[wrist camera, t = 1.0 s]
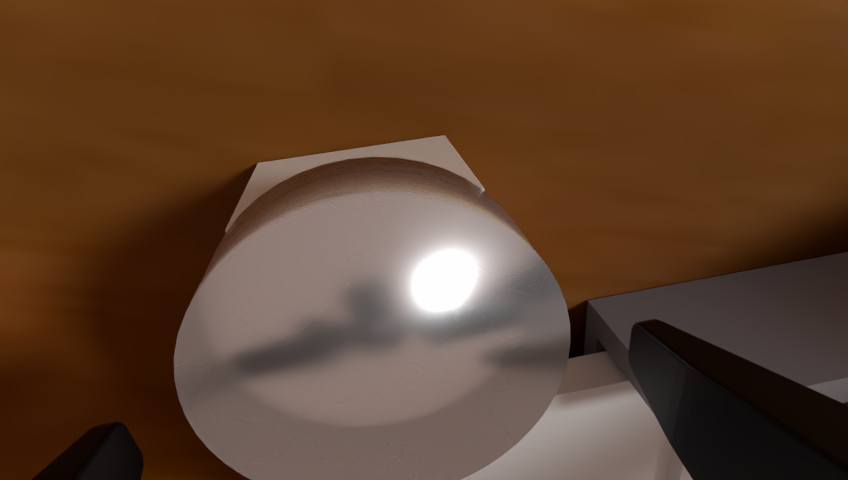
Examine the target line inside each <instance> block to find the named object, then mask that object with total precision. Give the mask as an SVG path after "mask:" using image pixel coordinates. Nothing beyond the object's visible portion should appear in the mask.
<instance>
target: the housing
mask: <svg viewBox="0 0 848 480" xmlns="http://www.w3.org/2000/svg"><path fill="white" fill-rule="evenodd" d="M650 319H658V320H661V321H663V322H665V323H667V324H669V325H672V326H674V327H676V328H678V329H681V330H683V331H685V332H687V333H689V334H692V335H694V336H696V337H698V338H700V339H703V340H705V341H707V342H709V343H711V344H714V345H716V346H718V347H720V348H722V349H725V350H727V351H729V352H731V353H733V354H736V355H738V356H740V357H742V358H744V359H747V360H749V361H751V362H753V363H755V364H758V365H760V366H762V367H764V368H766V369H769V370H771V371H773V372H775V373H777V374H780V375H782V376H784V377H786V378H788V379H791V380H793V381H795V382H797V383H799V384H802V385H804V386H806V387H808V388H810V389H813V390H815V391H817V392H819V393H821V394H824V395H826V396H828V397H830V398H833V399H835V400H837V401H839V402H841V403H844V404H846V405H848V252H844V253H839V254H834V255H828V256H823V257H818V258H812V259H807V260H801V261H796V262H791V263H785V264H780V265H775V266H769V267H764V268H759V269H753V270H748V271H742V272H737V273H732V274H726V275H721V276H716V277H710V278H705V279H700V280H694V281H689V282H683V283H678V284H673V285H667V286H662V287H657V288H651V289H646V290H641V291H635V292H630V293H625V294H619V295H614V296H608V297H603V298H598V299H592V300H588V304H587V317H586V330H585V344H584V355H589V354H594V353H599V352H605V351H607V352H608V353H609V355H610V356H611V357H612V359H613V360H614V361H615V363H616V364H617V365H618V367H619V368H620V369H621V371H622V372H623V373H624V375H625V376H626V377H627V379H628V380H629V381H630V383H631V384H632V385H633V387H634V388H635V389H636V391H637V392H638V393H639V395H640V396H641V397H642V399H643V400H644V401H645V403H646V404H647V405H648V407H649V408H650V409H651V407H650V405H649V403H648V401H647V399H646V398H645V396H644V394H643V392H642V390H641V388H640V386H639V384H638V382H637V380H636V378H635V376H634V374H633V373H632V371H631V368H630V366H629V362H628V352H629V344H630V337H631V330H632V326H633V325H634V324H635V323H636V322H640V321H645V320H650ZM651 411H652V409H651ZM652 412H653V411H652Z"/></svg>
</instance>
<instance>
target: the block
mask: <svg viewBox="0 0 848 480" xmlns="http://www.w3.org/2000/svg"><path fill="white" fill-rule="evenodd" d="M365 157H393V158H403V159H409V160H415V161H421V162H425V163H428V164H431V165H434V166H438V167H441V168H444V169H446V170H449V171H451V172H453V173H455V174H457V175H459V176H462V177H464V178H466V179H467V180H469V181H470V182H472V183H473V184H475V185H476V186H478V187H480V188H481V189H482V190H484V187H483V186H482V185H481V183H480V182H479V181H478V179H477V178H476V177H475V175H474V174H473V173H472V171H471V170H470V169H469V167H468V166H467V165H466V163H465V162H464V161H463V159H462V158H461V157H460V155H459V154H458V152H457V151H456V150H455V148H454V147H453V146H452V144H451V143H450V142H449V140H448V139H447V138H446V136H445V135H442V136H436V137H429V138H422V139H416V140H409V141H402V142H395V143H389V144H382V145H375V146H369V147H362V148H355V149H349V150H342V151H335V152H329V153H322V154H315V155H309V156H302V157H295V158H288V159H282V160H275V161H268V162H262V163H258V164H257V166H256V168H255V170H254V172H253V174H252V176H251V178H250V180H249V182H248V184H247V186H246V188H245V190H244V192H243V194H242V196H241V198H240V201H239V203H238V205H237V207H236V209H235V211H234V213H233V215H232V217H231V219H230V221H229V223H228V225H227V227H226V229H225V232H227V230H228V229H229V228H230V226H231V225H232V224H233V223H234V221H235V220H236V219H237V218H238V216H239V215H240V214H241V213H242V212H243V211H244V210H245V209H246V208H247V207H248V206H249V205H251V204H252V203H253V202H254V201H255V200H256V199H257V198H258V197H260V196H261V195H263V194H264V193H265V192H267V191H268V190H270V189H271V188H273V187H274V186H275V185H277V184H279V183H281V182H283V181H284V180H286V179H288V178H290V177H292V176H294V175H296V174H298V173H300V172H303V171H306V170H309V169H312V168H314V167H317V166H320V165H323V164H327V163H332V162H336V161H341V160H346V159H353V158H365Z"/></svg>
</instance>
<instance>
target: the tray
mask: <svg viewBox="0 0 848 480" xmlns="http://www.w3.org/2000/svg"><path fill="white" fill-rule="evenodd" d="M461 480H693V479H692V478H691V476H690V475H689V473H688V472H687V470H686V468H685V467H684V465H683V464H682V462H681V461H680V459H679V458H678V456H677V455H676V453H675V451H674V450H673V448H672V446H671V445H670V443H669V441H668V439H667V438H666V436H665V434H664V432H663V430H662V428H661V426H660V425H659V423H658V421H657V419H656V417H655V415H654V413H653V412H652V411H651V409H650V408H649V407H648V405H647V404H646V403H645V401H644V400H643V399H642V397H641V396H640V395H639V393H638V392H637V391H636V389H635V388H634V387H633V385H632V384H631V383H630V381H629V380H628V379H627V377H626V376H625V375H624V373H623V372H622V371H621V369H620V368H619V367H618V365H617V364H616V363H615V361H614V360H613V359H612V357H611V356H610V355H609V353H608V352H607V351H605V352H599V353H594V354H589V355H584V356H579V357H574V358H569V359H568V363H567V366H566V370H565V373H564V377H563V380H562V382H561V384H560V386H559V389H558V391H557V393H556V395H555V397H554V399H553V400H552V402H551V404H550V405H549V407H548V409H547V410H546V412H545V413H544V415H543V416H542V417H541V418H540V420H539V421H538V422H537V423H536V425H535V426H534V427H533V428H532V429H531V430H530V431H529V432H528V433H527V434H526V435H525V436H524V437H523V438H522V439H521V440H520V441H519V442H518V443H517V444H516V445H515V446H514V447H512V448H511V449H510V450H509V451H507V452H506V453H505V454H504V455H502V456H501V457H500V458H498V459H497V460H495V461H494V462H492V463H491V464H489V465H488V466H486V467H484V468H483V469H481V470H479V471H477V472H475V473H473V474H472V475H470V476H468V477H466V478H464V479H461Z"/></svg>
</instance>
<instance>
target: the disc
mask: <svg viewBox="0 0 848 480" xmlns="http://www.w3.org/2000/svg"><path fill="white" fill-rule="evenodd" d="M570 343H571V340H570V321H569V315H568V310H567V305H566V302H565V300H564V297H563V294H562V292H561V289H560V287H559V285H558V283H557V281H556V280H555V278H554V276H553V275H552V273H551V271H550V269H549V268H548V266H547V265H546V264H545V263H544V261H543V260H542V259H541V257H540V256H539V255H538V253H537V252H536V251H535V249H534V248H533V247H532V245H531V244H530V243H529V241H528V240H527V239H526V237H525V236H524V235H523V233H522V232H521V231H520V230H519V228H518V227H517V226H516V224H515V223H514V222H513V220H512V219H511V218H510V217H509V215H508V214H507V213H506V212H505V211H504V209H503V208H502V207H501V206H500V205H499V203H498V202H496V201H495V200H494V199H493V198H492V197H491V196H490V195H488V194H487V193H486V192H485V191H484V190H482V189H481V188H480V187H478V186H476V185H475V184H473V183H472V182H470V181H469V180H467V179H466V178H464V177H462V176H459V175H457V174H455V173H453V172H451V171H449V170H446V169H444V168H441V167H438V166H434V165H431V164H428V163H425V162H421V161H415V160H409V159H403V158H393V157H365V158H353V159H346V160H341V161H336V162H332V163H327V164H323V165H320V166H317V167H314V168H312V169H309V170H306V171H303V172H300V173H298V174H296V175H294V176H292V177H290V178H288V179H286V180H284V181H283V182H281V183H279V184H277V185H275V186H274V187H273V188H271V189H270V190H268V191H267V192H265V193H264V194H263V195H261V196H260V197H258V198H257V199H256V200H255V201H254V202H253V203H252V204H251V205H249V206H248V207H247V208H246V209H245V210H244V211H243V212H242V213H241V214H240V215H239V216H238V218H237V219H236V220H235V221H234V223H233V224H232V225H231V226H230V228H229V229H228V230H227V232H226V233H225V235H224V237H223V239H222V240H221V242H220V244H219V246H218V247H217V249H216V251H215V253H214V255H213V257H212V259H211V261H210V263H209V265H208V267H207V270H206V272H205V274H204V276H203V278H202V280H201V282H200V284H199V286H198V288H197V290H196V292H195V294H194V296H193V298H192V300H191V302H190V304H189V307H188V309H187V311H186V313H185V316H184V318H183V321H182V324H181V327H180V329H179V332H178V336H177V341H176V347H175V353H174V379H175V384H176V389H177V394H178V399H179V401H180V404H181V406H182V409H183V411H184V414H185V416H186V418H187V420H188V422H189V423H190V425H191V426H192V428H193V430H194V431H195V433H196V435H197V436H198V437H199V438H200V439H201V440H202V442H203V443H204V444H205V445H206V446H207V448H208V449H209V450H210V451H211V452H212V453H214V454H215V455H216V456H217V457H218V458H219V459H220V460H221V461H223V462H224V463H225V464H226V465H228V466H229V467H231V468H232V469H234V470H235V471H237V472H238V473H240V474H241V475H243V476H245V477H247V478H249V479H251V480H461V479H464V478H466V477H468V476H470V475H472V474H473V473H475V472H477V471H479V470H481V469H483V468H484V467H486V466H488V465H489V464H491V463H492V462H494V461H495V460H497V459H498V458H500V457H501V456H502V455H504V454H505V453H506V452H507V451H509V450H510V449H511V448H512V447H514V446H515V445H516V444H517V443H518V442H519V441H520V440H521V439H522V438H523V437H524V436H525V435H526V434H527V433H528V432H529V431H530V430H531V429H532V428H533V427H534V426H535V425H536V423H537V422H538V421H539V420H540V418H541V417H542V416H543V415H544V413H545V412H546V410H547V409H548V407H549V405H550V404H551V402H552V400H553V399H554V397H555V395H556V393H557V391H558V389H559V386H560V384H561V382H562V380H563V377H564V373H565V370H566V366H567V363H568V358H569V350H570Z"/></svg>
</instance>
